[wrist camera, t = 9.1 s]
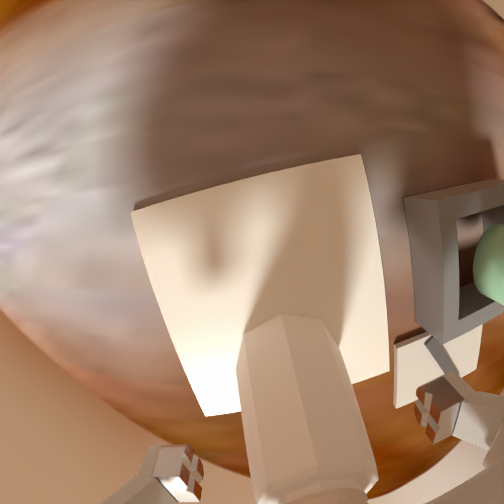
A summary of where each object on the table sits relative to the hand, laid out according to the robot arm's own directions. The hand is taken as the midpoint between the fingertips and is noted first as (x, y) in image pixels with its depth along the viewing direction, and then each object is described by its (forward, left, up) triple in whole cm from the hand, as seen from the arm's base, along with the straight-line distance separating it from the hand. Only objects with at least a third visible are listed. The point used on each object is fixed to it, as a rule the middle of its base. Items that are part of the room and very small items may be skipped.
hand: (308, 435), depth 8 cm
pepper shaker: (0, 0, -6) cm, 6 cm away
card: (+4, +10, -6) cm, 12 cm away
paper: (-3, 0, -6) cm, 7 cm away
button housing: (-3, +11, -6) cm, 13 cm away
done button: (-3, +11, -3) cm, 12 cm away
